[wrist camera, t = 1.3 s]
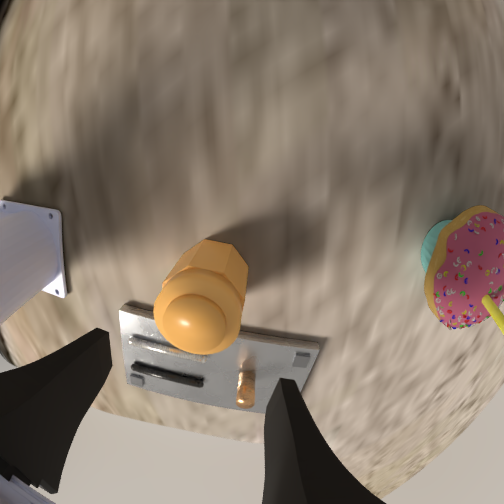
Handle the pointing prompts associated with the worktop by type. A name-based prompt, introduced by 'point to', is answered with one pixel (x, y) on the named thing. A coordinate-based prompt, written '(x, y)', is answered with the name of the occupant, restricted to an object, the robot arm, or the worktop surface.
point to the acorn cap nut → (203, 299)
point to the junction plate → (212, 365)
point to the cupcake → (465, 268)
